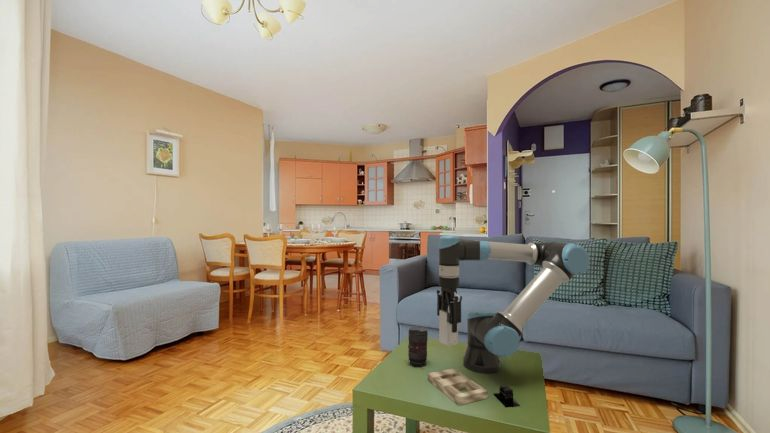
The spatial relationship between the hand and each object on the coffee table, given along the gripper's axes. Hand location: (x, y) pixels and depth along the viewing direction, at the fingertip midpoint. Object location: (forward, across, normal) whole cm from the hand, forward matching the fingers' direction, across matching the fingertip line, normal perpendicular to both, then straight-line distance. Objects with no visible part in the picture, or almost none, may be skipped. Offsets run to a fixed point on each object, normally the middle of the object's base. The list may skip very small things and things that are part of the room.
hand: (448, 338), depth 131 cm
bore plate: (+17, +5, 0) cm, 17 cm away
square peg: (+2, 0, 0) cm, 2 cm away
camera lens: (+17, -20, -2) cm, 26 cm away
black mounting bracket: (+18, +18, +11) cm, 28 cm away
